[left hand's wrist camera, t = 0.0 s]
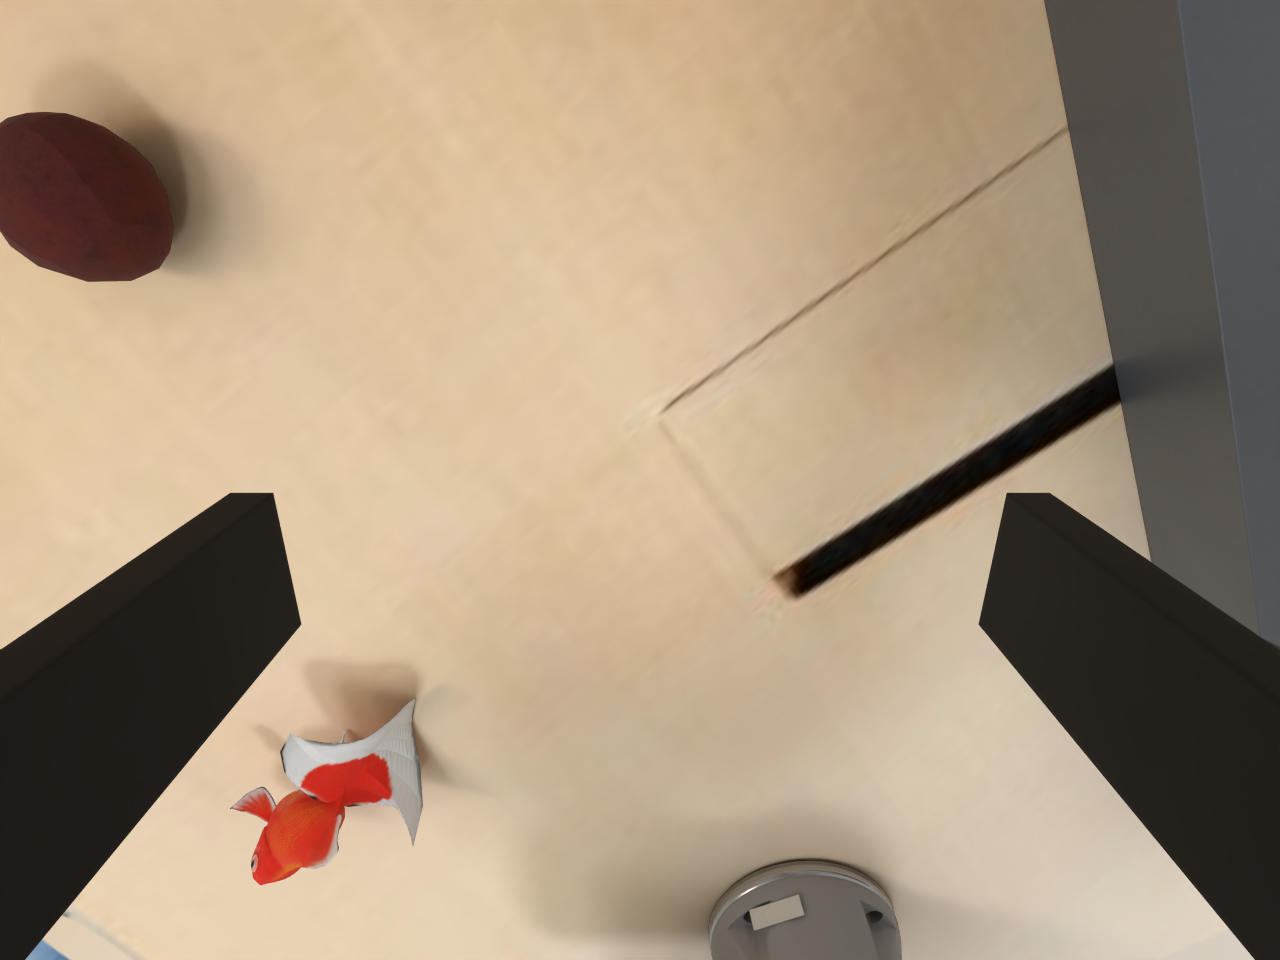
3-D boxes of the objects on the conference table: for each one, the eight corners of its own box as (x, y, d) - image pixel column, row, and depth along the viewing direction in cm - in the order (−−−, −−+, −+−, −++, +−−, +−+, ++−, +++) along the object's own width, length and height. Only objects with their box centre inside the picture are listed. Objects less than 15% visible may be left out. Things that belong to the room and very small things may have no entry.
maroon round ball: (121, 91, 34) (-2, 62, 27) (235, 228, 36) (146, 231, 30) (26, 180, 36) (-112, 172, 29) (142, 306, 38) (37, 325, 31)
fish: (161, 780, 45) (159, 913, 37) (364, 624, 48) (400, 716, 40) (276, 840, 51) (295, 963, 44) (448, 699, 55) (492, 791, 47)
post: (1265, 801, 52) (1376, 906, 44) (1200, 820, 52) (1298, 927, 44) (1111, -277, 29) (1283, -455, 21) (1001, -217, 30) (1129, -370, 22)
